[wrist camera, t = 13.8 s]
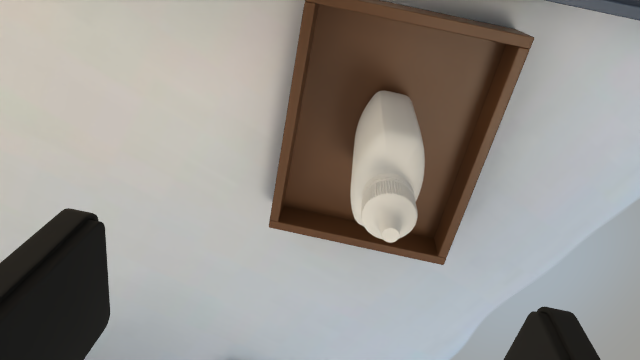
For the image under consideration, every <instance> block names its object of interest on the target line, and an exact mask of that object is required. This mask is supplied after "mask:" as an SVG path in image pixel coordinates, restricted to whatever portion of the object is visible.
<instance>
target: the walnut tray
mask: <svg viewBox="0 0 640 360" xmlns="http://www.w3.org/2000/svg"><path fill="white" fill-rule="evenodd" d="M533 40H534V37H532V36H530V35H527V34H525V33H523V32H520V31H518V30H516V29H512V28H508V27H503V26H498V25H493V24H489V23H484V22H479V21H475V20H470V19H465V18H461V17H456V16H451V15H446V14H442V13H437V12H432V11H428V10H423V9H418V8H414V7H409V6H404V5H399V4H395V3H390V2H385V1H381V0H305V4H304V10H303V16H302V22H301V28H300V35H299V41H298V47H297V53H296V60H295V66H294V72H293V78H292V85H291V91H290V97H289V103H288V110H287V116H286V122H285V128H284V134H283V141H282V147H281V153H280V159H279V166H278V172H277V178H276V184H275V191H274V197H273V203H272V209H271V216H270V222H269V227H270V228H275V229H279V230H284V231H289V232H293V233H298V234H303V235H307V236H312V237H316V238H321V239H326V240H330V241H335V242H340V243H344V244H349V245H353V246H358V247H363V248H367V249H372V250H377V251H381V252H386V253H390V254H395V255H400V256H404V257H409V258H414V259H418V260H423V261H427V262H432V263H437V264H441V265H444V263H445V260H446V257H447V255H448V252H449V250H450V247H451V245H452V242H453V240H454V237H455V235H456V232H457V230H458V227H459V225H460V222H461V220H462V217H463V215H464V212H465V210H466V207H467V205H468V202H469V200H470V197H471V195H472V192H473V190H474V187H475V185H476V182H477V180H478V177H479V175H480V172H481V170H482V167H483V165H484V162H485V160H486V157H487V155H488V152H489V150H490V147H491V145H492V142H493V140H494V137H495V135H496V132H497V130H498V127H499V125H500V122H501V120H502V117H503V115H504V112H505V110H506V107H507V105H508V102H509V100H510V97H511V95H512V92H513V90H514V87H515V85H516V82H517V80H518V77H519V75H520V72H521V70H522V67H523V65H524V62H525V60H526V57H527V55H528V52H529V49H530V48H531V45H532V43H533ZM379 91H390V92H394V93H399V94H403V95H406V96H408V97H409V98H410V100H411V101H412V104H413V108H414V111H415V114H416V118H417V121H418V125H419V128H420V132H421V136H422V141H423V146H424V157H425V168H424V177H423V182H422V187H421V190H420V193H419V196H418V198H417V200H416V207H417V214H418V215H417V216H418V218H417V222H416V225H415V226H414V228H413V229H412V230H411V232H409V233H408V234H407V235H405V236H403V237H401V238H398V240H397V241H395V242H392V243H389V242H386V241H384V240H383V239H380V238H377V237H375V236H373V235H372V234H370V233H369V232H368V231H367V230H366V228H365V227H364V226H362V225H360V224H358V223H357V221H356V220H355V218H354V215H353V212H352V207H351V177H352V165H353V153H354V141H355V134H356V129H357V125H358V122H359V119H360V117H361V115H362V113H363V111H364V109H365V107H366V105H367V104H368V102H369V101H370V100H371V98H372V97H373V96H374V95H375V94H376V93H377V92H379Z"/></svg>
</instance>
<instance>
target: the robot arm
mask: <svg viewBox="0 0 640 360" xmlns="http://www.w3.org/2000/svg"><path fill="white" fill-rule="evenodd" d="M109 317H110V303H109V287H108V270H107V254H106V238H105V226H104V224H103V223H102V222H98V217H97V216H96V215H95V214H93V213H89V212H84V211H79V210H74V209H69V208H68V209H64V210H63V211H61V212H60V213H59V214H58V215H56V216H55V217H54V218H53V219H52V220H51V221H49V222H48V223H47V224H46V225H45V226H43V227H42V228H41V229H40V230H39V231H38V232H36V233H35V234H34V235H33V236H32V237H30V238H29V239H28V240H27V241H26V242H25V243H23V244H22V245H21V246H20V247H19V248H18V249H16V250H15V251H14V252H13V253H12V254H10V255H9V256H8V257H7V258H6V259H5V260H3V261H2V262H1V263H0V360H84V358H85V357H86V355H87V354H88V352H89V351H90V350H91V348H92V347H93V345H94V344H95V342H96V341H97V339H98V338H99V337H100V335H101V334H102V332H103V331H104V329H105V328H106V326H107V323H108V320H109ZM504 360H600V358H599V356H598V355H597V353H596V351H595V349H594V348H593V346H592V344H591V342H590V341H589V339H588V337H587V335H586V334H585V332H584V330H583V328H582V327H581V325H580V323H579V321H578V320H577V318H576V317H575V315H574V314H573V313H571V312H568V311H563V310H558V309H554V308H549V307H541V308H539V309H538V311H537V312H531V313H530V314H529V315H528V317H527V319H526V320H525V323H524V324H523V326H522V328H521V329H520V331H519V333H518V335H517V337H516V338H515V340H514V342H513V344H512V346H511V347H510V349H509V351H508V353H507V355H506V356H505V358H504Z"/></svg>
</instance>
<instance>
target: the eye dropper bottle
mask: <svg viewBox="0 0 640 360" xmlns="http://www.w3.org/2000/svg"><path fill="white" fill-rule="evenodd" d="M424 168H425V157H424V146H423V141H422V136H421V132H420V128H419V125H418V121H417V118H416V114H415V111H414V108H413V104H412V101H411V100H410V98H409V97H408V96H406V95H403V94H399V93H394V92H390V91H379V92H377V93H376V94H375V95H374V96H373V97H372V98H371V100H370V101H369V102H368V104H367V105H366V107H365V109H364V111H363V113H362V115H361V117H360V119H359V122H358V125H357V129H356V134H355V141H354V153H353V165H352V177H351V207H352V212H353V215H354V218H355V220H356V221H357V223H358V224H360V225H362V226H364V227H365V228H366V230H367V231H368V232H369V233H370V234H372V235H373V236H375V237H377V238H380V239H383V240H384V241H386V242H389V243H392V242H395V241H397V240H398V238H401V237H403V236H405V235H407V234H408V233H409V232H411V230H412V229H413V228H414V226H415V225H416V222H417V218H418V216H417V215H418V214H417V207H416V200H417V198H418V196H419V193H420V190H421V187H422V182H423V177H424Z"/></svg>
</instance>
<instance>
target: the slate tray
mask: <svg viewBox="0 0 640 360" xmlns="http://www.w3.org/2000/svg"><path fill="white" fill-rule="evenodd" d="M546 1H551V2H555V3H560V4H565V5H569V6H574V7H579V8H584V9H588V10H593V11H598V12H602V13H607V14H612V15H616V16H621V17H626V18H631V19H635V20H640V0H546Z"/></svg>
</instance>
